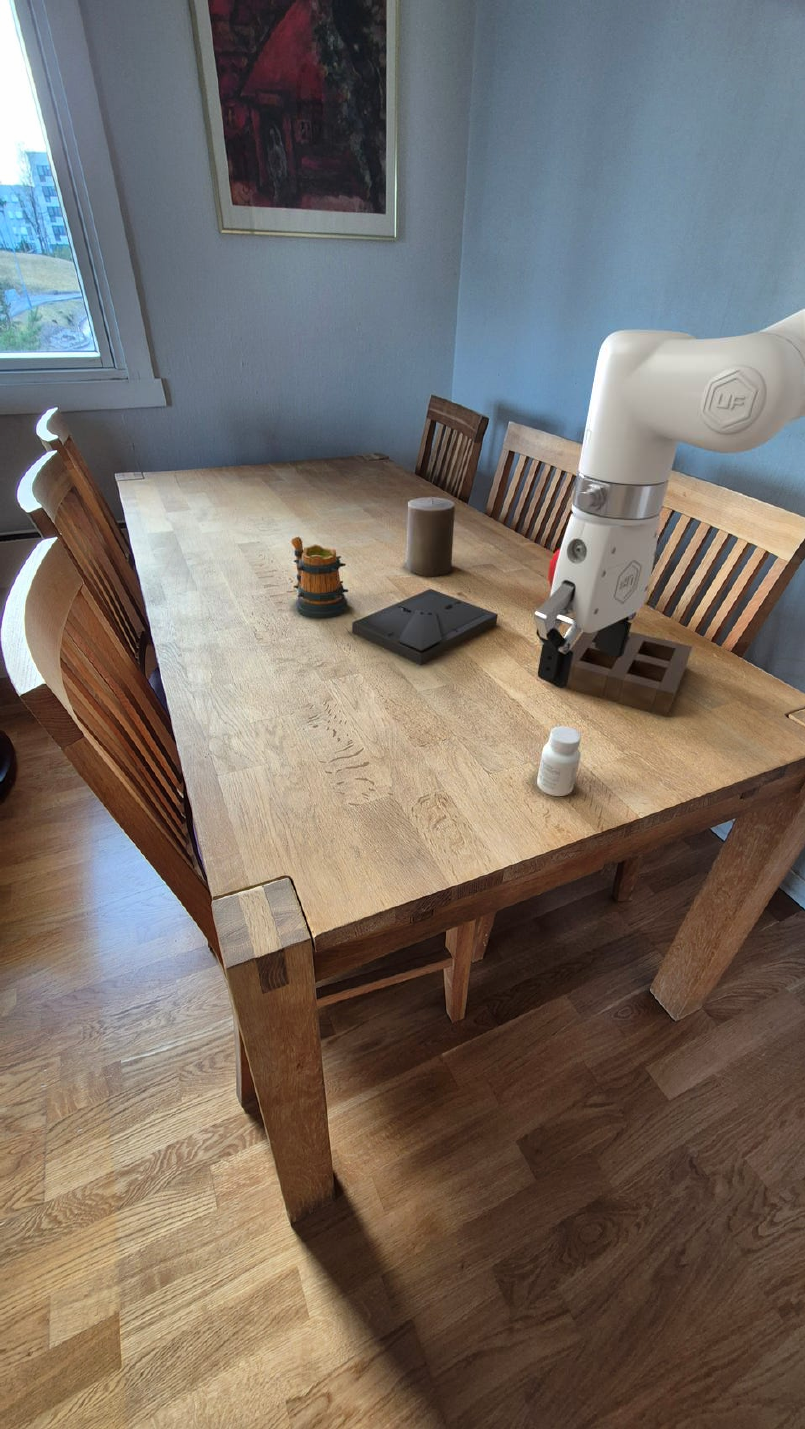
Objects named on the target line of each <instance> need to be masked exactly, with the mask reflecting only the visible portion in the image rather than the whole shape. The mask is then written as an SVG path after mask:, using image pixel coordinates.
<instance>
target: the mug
mask: <svg viewBox="0 0 805 1429" xmlns="http://www.w3.org/2000/svg"><path fill="white" fill-rule="evenodd" d="M290 543H291V545H292V546H293V547H294V550H293V552H294V557H295V560H293V562H294V563H295V564H296V570H297V573H296V580H297V582H296V585H293V588H295V589H297V590H298V591H297V592H298V594H297V600H296V601H295V606H296V611H297V612H298V613H299V614H300V615H302V616H305V617H307V618H313V619H330V618H334V617H338V616H340V615H342V614H345V612H346V611H347V610H348V609H349V608H348V606H349V604H348V599H347V598H346V595H345V593H347V592H348V593H349V589H346V588H344V584H343V583H344V581H343V580H341V577H340V571H339V570H340V568H341V567H345V566H347V563H343V562H341V560H340V559H341V557H342V556H341V555H339V556H337V550H336V548H334V549H332V548H329V547H323V546H321V545H318V544H316V543H315V544H313V545H310V546H307V547H304V548H303V540H302V538H301V537H300V536H296V537H293V538H292V539H291V540H290Z"/></svg>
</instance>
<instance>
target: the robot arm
mask: <svg viewBox="0 0 805 1429" xmlns="http://www.w3.org/2000/svg"><path fill="white" fill-rule="evenodd" d="M593 379H594V380H593V384H592V389H591V395H590V400H589V407H588V412H587V418H586V423H585V429H584V434H583V435H584V436H583V441H582V447H581V450H580V451H581V452H580V458H579V464H578V467H577V468H578V469H577V474H576V480H575V484H574V485H575V486H574V490H573V495H572V502H571V507H570V508H571V512H572V513H570V517H569V519H568V524H567V526H566V529H565V532H564V536H563V538H562V542H561V545H560V548H561V549H560V548H559V549H560V553H559V557H558V561H557V565H556V569H555V574H554V578H553V584H552V589H551V588H550V596H549V597H548V598H547V599H546V601H544V603H543V604H542V605H541V606H540V607H539V608H538V609H537V610H536V611H535V613H534V615H533V619H534V623H535V627H536V633H535V634H536V636H537V637H538V639H539V643H540V644H542V646H541V651H540V656H539V662H538V668H537V677H538V678H539V679H541V680H543V681H545V682H547V683H549V684H551V685H553V686H554V687H556V688H558V689H565V688H564V687H566V686H567V682H568V677H569V673H570V668H571V663H572V658H573V653H574V652H573V651H571V650H570V649H571V648H572V646H573V645H574V644H575V642H576V641H577V639H578V637H579V636H580V633H581V631H582V632H583V631H584V632H587V633H593V632H596V631H598V634H597V638H596V642H595V647H596V648H597V649H599V650H601V651H604V652H606V653H608V654H610V655H613V656H615V657H617V658H619V657H621V656H623V654H624V650H625V647H626V643H627V639H628V635H629V631H630V630H631V627H632V622H633V621H634V620H635V618H636V616H637V612H638V611H640V610H641V609H642V607H643V606H644V604H645V602H646V598H647V594H648V590H649V585H650V581H651V577H652V572H653V569H654V568H653V567H654V562H655V557H656V551H657V545H658V538H659V530H660V516H661V513H662V509H663V504H664V502H665V501H664V500H665V497H666V493H667V489H668V485H669V481H670V477H671V473H672V469H673V466H674V461H675V457H676V453H677V449H678V446H679V442H680V443H683V444H686V445H689V446H692V447H694V448H699V449H702V450H704V451H709V452H714V453H719V454H739V453H743V452H748V451H751V450H755V449H756V448H758V447H760V446H762V445H764V444H766V443H767V442H769V441H770V440H772V439H774V437H775V436H777V435H778V433H779V432H781V430H783V429H784V428H785V427H786V426H787V425H788V424H790V423H792V422H794V421H797V420H798V419H801V418H803V417H805V308H803V309H801V310H799V311H797V312H795V313H793V314H791V315H789V316H787V317H785V318H783V319H781V320H779V321H778V322H775V323H774V324H772V325H770V326H768V327H766V328H763V329H761V330H759V331H756V332H752V333H747V334H743V335H735V336H727V337H716V338H714V337H713V338H696V336H694V335H692V334H690V333H686V332H682V331H674V330H661V329H660V330H659V329H634V328H633V329H632V328H631V329H622V330H617V331H614V332H612V333H611V334H609V335H608V336H606V338H605V339H604V341H603V342H602V344H601V345H600V348H599V353H598V357H597V362H596V366H595V372H594V378H593ZM570 614H573V617H574V618H573V617H571V616H568V615H570ZM562 624H563V625H565V626H567V627H569V628H568V630H567V631H566V633H565V635H564V636H563V635H562V633H561V632H560V631H559V628H560V626H561V625H562ZM630 632H631V631H630Z"/></svg>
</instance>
